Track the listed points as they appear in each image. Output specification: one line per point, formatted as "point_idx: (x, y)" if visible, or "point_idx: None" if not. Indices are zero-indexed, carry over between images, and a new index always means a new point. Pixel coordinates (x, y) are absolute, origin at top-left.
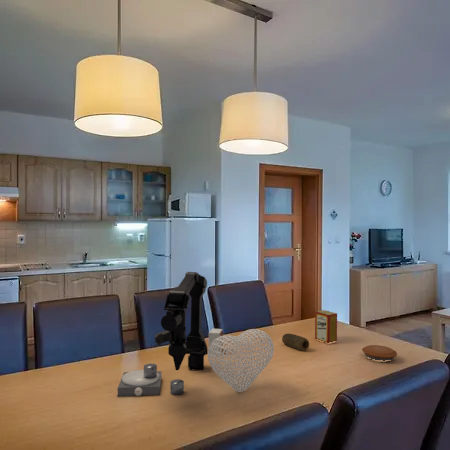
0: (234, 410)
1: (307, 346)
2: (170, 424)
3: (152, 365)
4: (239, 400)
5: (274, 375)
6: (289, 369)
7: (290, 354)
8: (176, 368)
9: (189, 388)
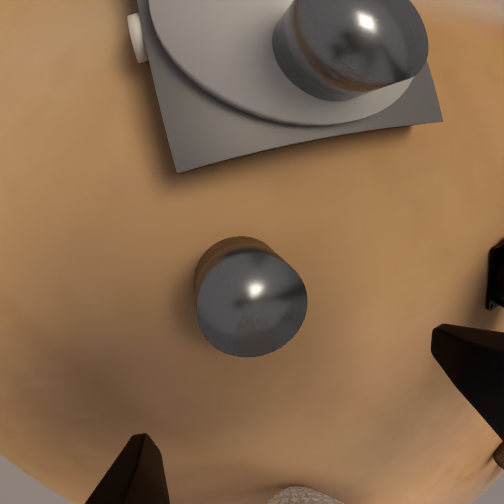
0: None
1: (496, 462)
2: None
3: (389, 36)
4: (221, 501)
5: (401, 487)
6: (426, 487)
7: (491, 445)
8: (128, 457)
9: (308, 330)
